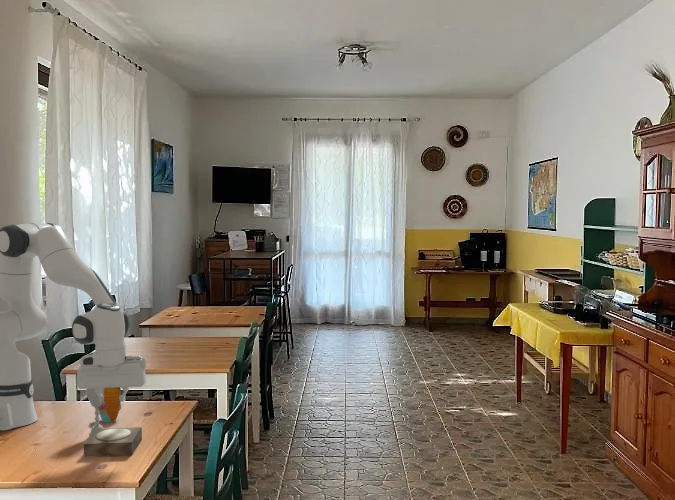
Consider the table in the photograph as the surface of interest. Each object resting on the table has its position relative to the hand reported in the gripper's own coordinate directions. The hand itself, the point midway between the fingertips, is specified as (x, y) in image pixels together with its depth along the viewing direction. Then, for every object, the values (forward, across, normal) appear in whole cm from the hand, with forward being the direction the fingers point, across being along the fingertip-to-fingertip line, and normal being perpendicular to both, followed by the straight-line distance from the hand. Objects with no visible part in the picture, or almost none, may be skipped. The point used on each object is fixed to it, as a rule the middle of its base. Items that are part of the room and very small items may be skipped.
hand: (112, 401), depth 212 cm
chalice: (+15, +9, -15) cm, 23 cm away
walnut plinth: (+14, 0, 0) cm, 15 cm away
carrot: (+7, 0, 0) cm, 7 cm away
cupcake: (+15, +9, -29) cm, 34 cm away
